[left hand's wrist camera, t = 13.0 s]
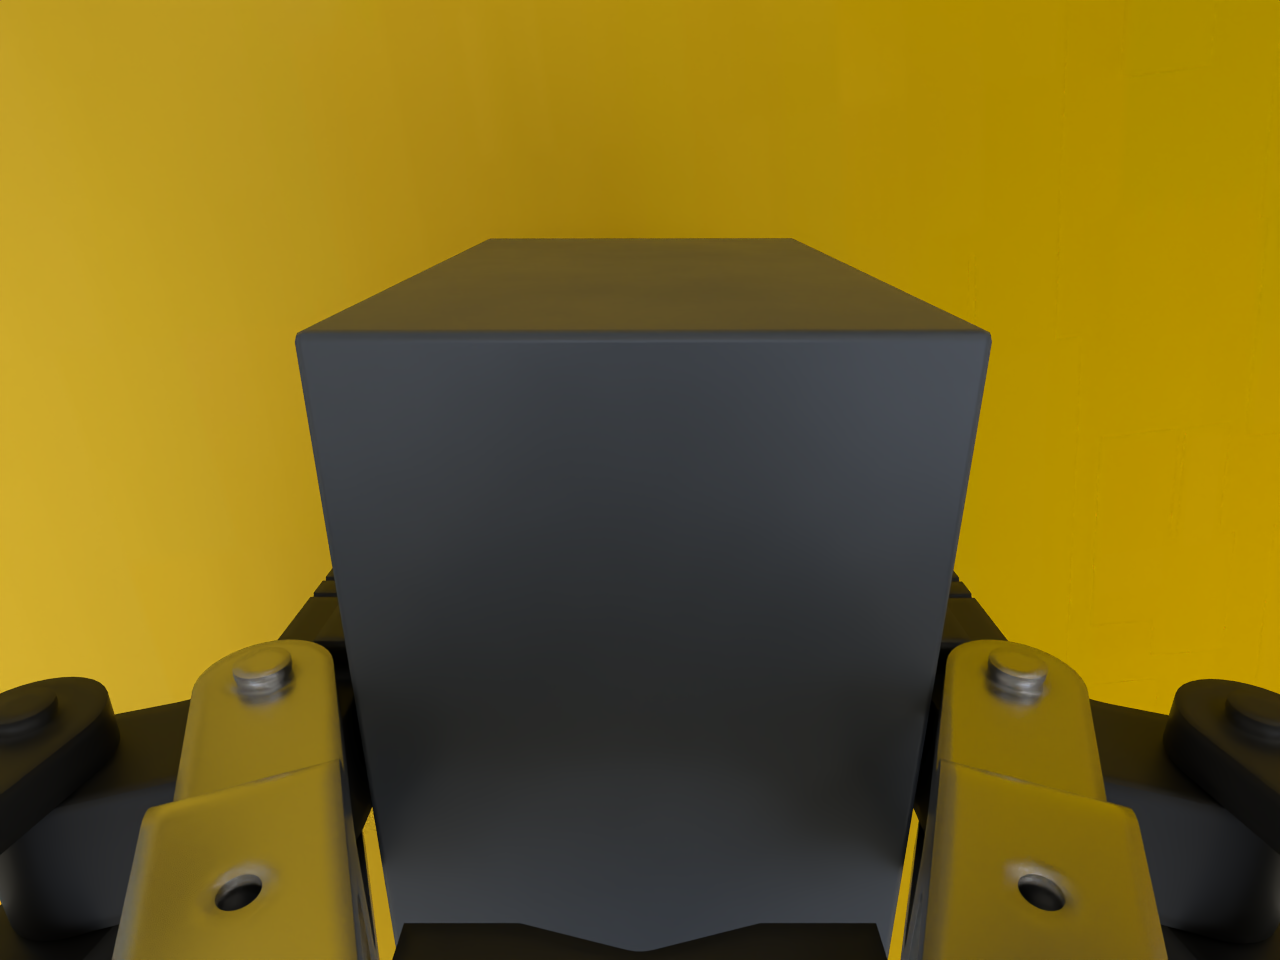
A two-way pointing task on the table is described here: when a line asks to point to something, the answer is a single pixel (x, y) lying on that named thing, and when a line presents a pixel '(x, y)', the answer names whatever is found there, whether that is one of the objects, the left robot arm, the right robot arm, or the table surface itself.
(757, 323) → the bar
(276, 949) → the left robot arm
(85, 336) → the table surface
